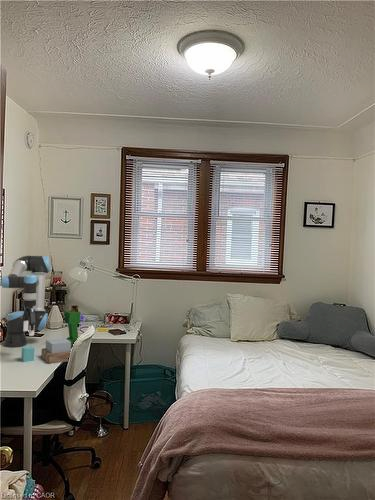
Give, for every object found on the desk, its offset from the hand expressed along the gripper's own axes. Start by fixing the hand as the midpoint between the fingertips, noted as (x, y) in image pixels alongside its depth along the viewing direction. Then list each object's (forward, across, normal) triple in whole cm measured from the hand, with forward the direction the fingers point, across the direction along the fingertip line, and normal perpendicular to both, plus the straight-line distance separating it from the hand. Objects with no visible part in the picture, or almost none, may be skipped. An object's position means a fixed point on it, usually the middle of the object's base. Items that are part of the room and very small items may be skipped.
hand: (28, 333), depth 243 cm
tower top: (+12, +6, +17) cm, 21 cm away
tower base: (+18, +6, +17) cm, 25 cm away
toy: (+17, -13, +35) cm, 41 cm away
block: (+17, 0, 0) cm, 17 cm away
